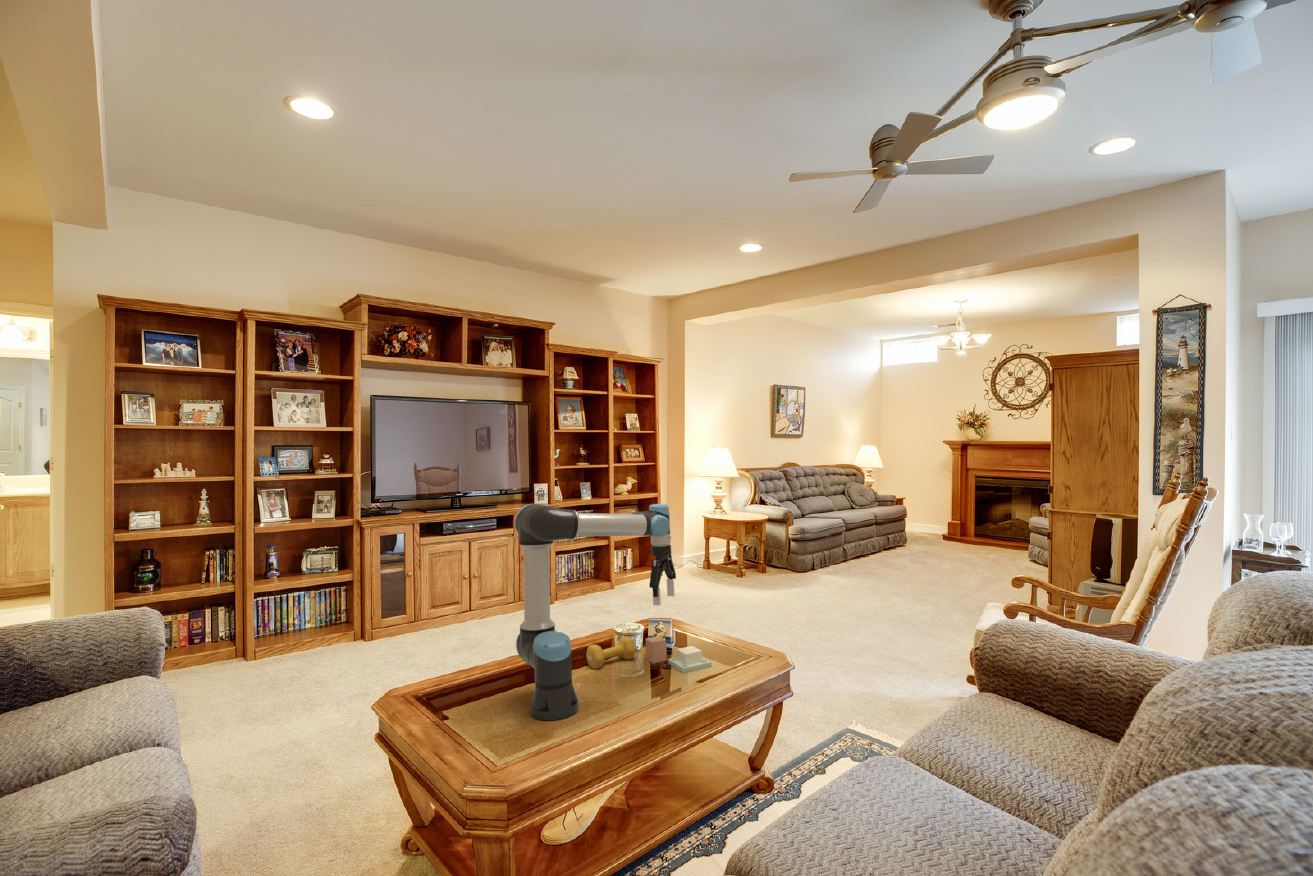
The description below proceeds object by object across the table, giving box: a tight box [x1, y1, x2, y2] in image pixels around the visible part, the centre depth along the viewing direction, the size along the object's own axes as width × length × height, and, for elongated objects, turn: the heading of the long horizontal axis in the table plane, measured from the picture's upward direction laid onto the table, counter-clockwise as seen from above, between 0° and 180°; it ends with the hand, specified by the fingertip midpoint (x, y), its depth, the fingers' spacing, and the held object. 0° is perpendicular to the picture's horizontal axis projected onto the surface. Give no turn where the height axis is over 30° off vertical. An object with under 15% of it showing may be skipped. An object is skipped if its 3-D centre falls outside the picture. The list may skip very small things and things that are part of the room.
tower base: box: [667, 645, 712, 674], centre depth 228 cm, size 12×12×6 cm
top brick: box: [645, 635, 668, 665], centre depth 235 cm, size 6×6×8 cm
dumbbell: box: [585, 635, 637, 670], centre depth 234 cm, size 19×9×8 cm, turn 125°
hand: (664, 600), depth 230 cm, fingers open, 13 cm apart
